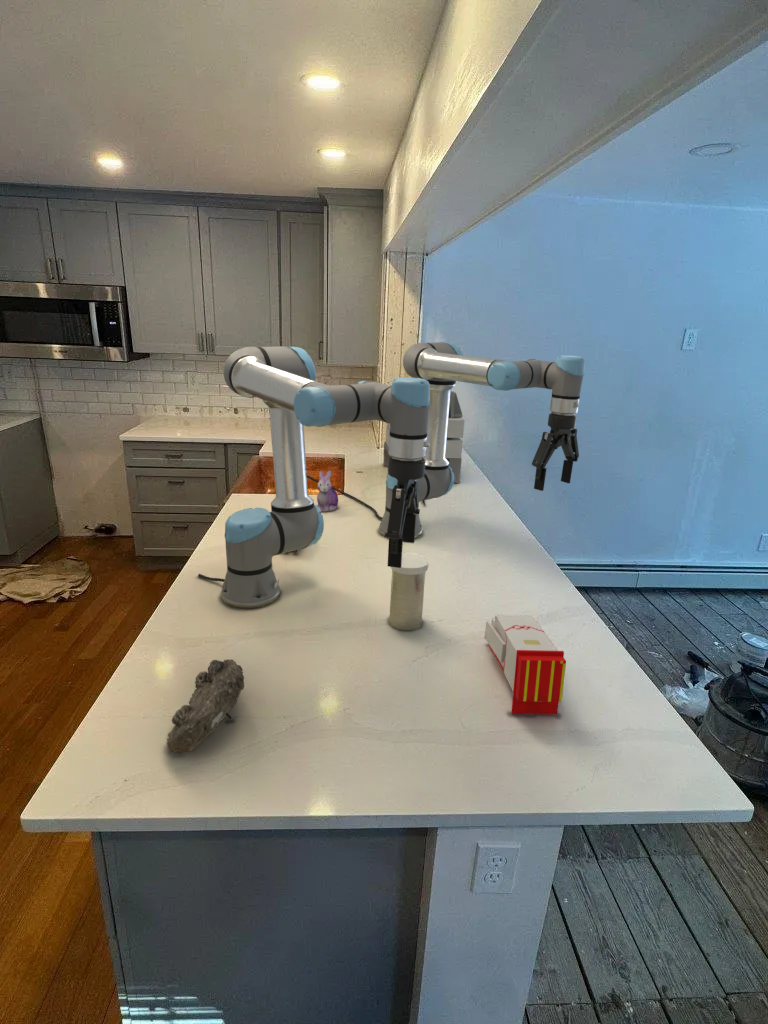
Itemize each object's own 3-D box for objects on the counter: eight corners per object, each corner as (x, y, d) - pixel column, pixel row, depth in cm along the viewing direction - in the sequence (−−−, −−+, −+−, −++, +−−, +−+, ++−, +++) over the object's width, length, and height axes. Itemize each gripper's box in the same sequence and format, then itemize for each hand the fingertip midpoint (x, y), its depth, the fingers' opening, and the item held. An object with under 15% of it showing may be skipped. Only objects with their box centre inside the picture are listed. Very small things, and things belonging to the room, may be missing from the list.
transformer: (382, 463, 289) (386, 382, 275) (445, 464, 293) (451, 384, 279) (390, 482, 257) (394, 392, 243) (460, 483, 261) (468, 394, 247)
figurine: (320, 513, 215) (320, 475, 210) (311, 505, 224) (311, 468, 219) (343, 510, 219) (344, 473, 214) (333, 502, 228) (333, 466, 223)
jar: (428, 625, 143) (432, 564, 137) (401, 633, 139) (405, 571, 133) (408, 610, 149) (412, 552, 144) (383, 618, 145) (385, 558, 139)
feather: (423, 488, 255) (426, 485, 254) (424, 507, 228) (427, 503, 228) (420, 486, 255) (423, 483, 254) (421, 505, 228) (423, 501, 227)
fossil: (192, 660, 117) (244, 628, 112) (224, 691, 120) (276, 661, 115) (142, 746, 98) (202, 712, 93) (182, 779, 101) (242, 748, 96)
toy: (530, 600, 137) (574, 657, 108) (525, 651, 140) (567, 720, 111) (480, 599, 137) (511, 656, 107) (477, 651, 139) (506, 719, 110)
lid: (435, 569, 138) (436, 563, 137) (404, 578, 133) (404, 571, 132) (413, 555, 145) (413, 549, 144) (382, 563, 140) (382, 556, 139)
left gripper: (413, 474, 102) (406, 581, 109) (435, 445, 125) (428, 535, 132) (373, 470, 103) (369, 575, 111) (402, 442, 126) (397, 530, 133)
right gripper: (548, 419, 148) (537, 496, 155) (598, 411, 163) (586, 482, 171) (525, 414, 153) (515, 489, 160) (575, 407, 169) (564, 476, 176)
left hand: (401, 553), depth 121 cm, fingers open, 13 cm apart
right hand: (552, 485), depth 166 cm, fingers open, 13 cm apart
